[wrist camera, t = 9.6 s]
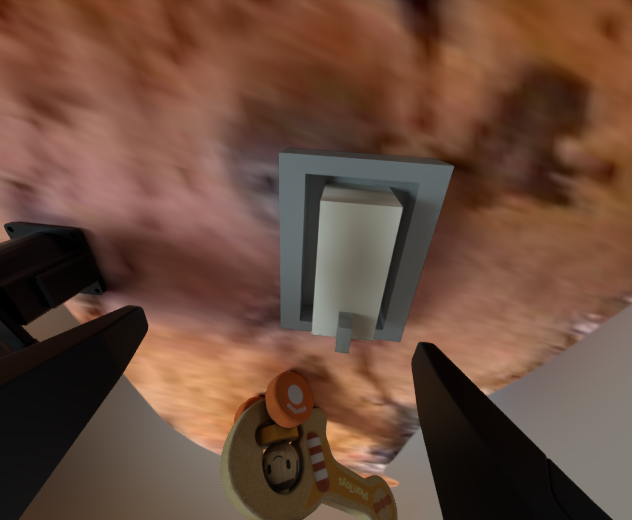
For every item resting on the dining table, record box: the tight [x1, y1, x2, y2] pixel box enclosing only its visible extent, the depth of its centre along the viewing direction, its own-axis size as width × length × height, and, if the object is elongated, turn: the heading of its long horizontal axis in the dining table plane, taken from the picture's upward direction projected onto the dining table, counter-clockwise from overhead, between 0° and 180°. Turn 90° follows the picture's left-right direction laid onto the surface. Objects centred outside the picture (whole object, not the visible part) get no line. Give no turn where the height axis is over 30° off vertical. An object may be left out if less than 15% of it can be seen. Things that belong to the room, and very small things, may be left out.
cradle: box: [279, 148, 454, 342], centre depth 18 cm, size 9×13×3 cm
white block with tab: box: [312, 181, 403, 353], centre depth 16 cm, size 4×9×6 cm, turn 177°
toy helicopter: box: [220, 371, 397, 520], centre depth 24 cm, size 8×21×14 cm, turn 51°
